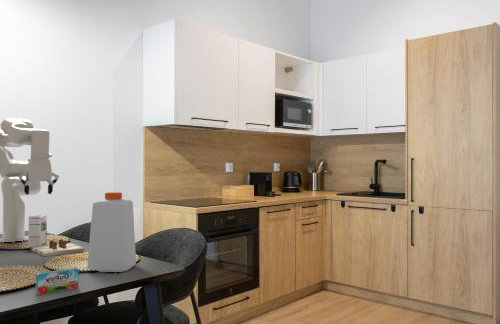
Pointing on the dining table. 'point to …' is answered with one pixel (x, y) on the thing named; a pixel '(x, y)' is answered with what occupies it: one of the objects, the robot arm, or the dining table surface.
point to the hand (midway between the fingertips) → (38, 194)
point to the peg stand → (57, 248)
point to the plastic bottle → (112, 235)
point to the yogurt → (57, 281)
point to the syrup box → (37, 230)
